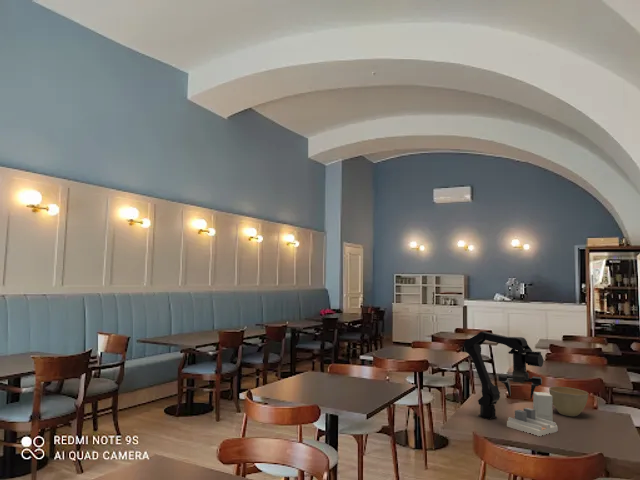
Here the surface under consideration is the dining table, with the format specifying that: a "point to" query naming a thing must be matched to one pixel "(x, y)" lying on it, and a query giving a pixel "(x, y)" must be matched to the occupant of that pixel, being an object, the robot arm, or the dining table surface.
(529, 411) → the switch tab
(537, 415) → the supplement box
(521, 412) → the switch tab
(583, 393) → the olive green bowl
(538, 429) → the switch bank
